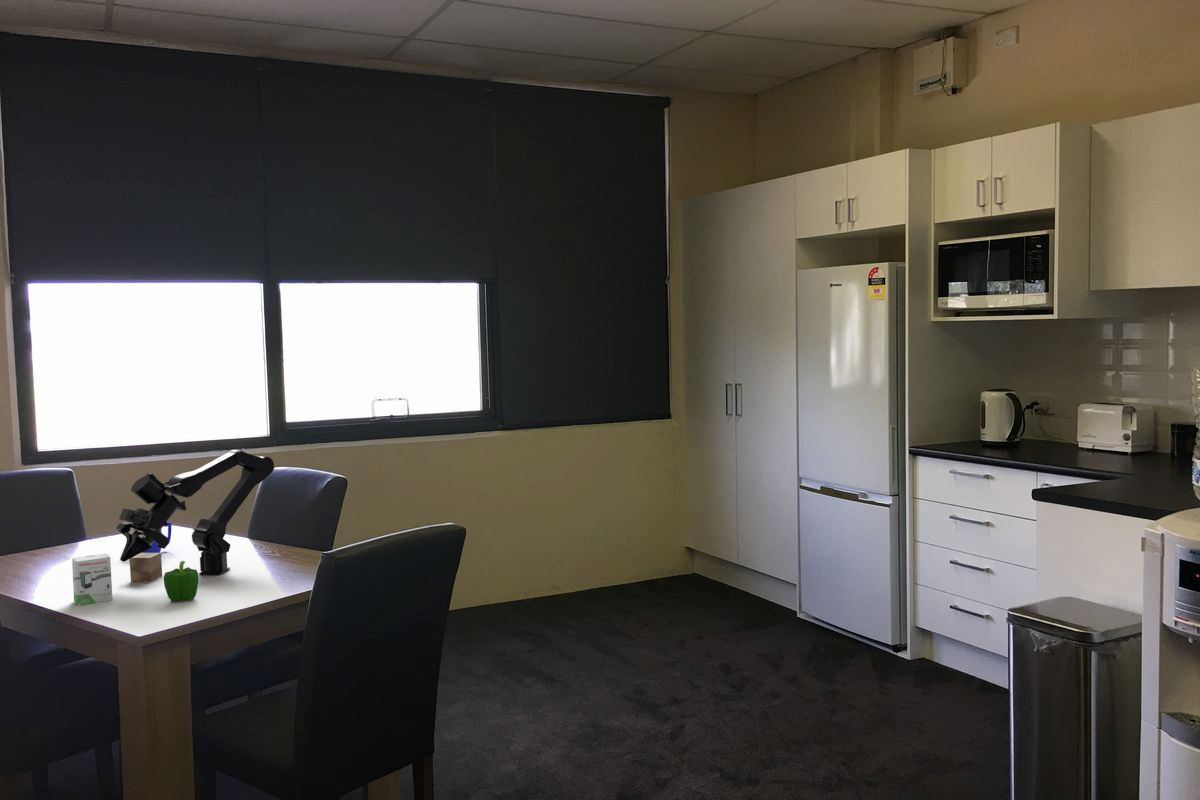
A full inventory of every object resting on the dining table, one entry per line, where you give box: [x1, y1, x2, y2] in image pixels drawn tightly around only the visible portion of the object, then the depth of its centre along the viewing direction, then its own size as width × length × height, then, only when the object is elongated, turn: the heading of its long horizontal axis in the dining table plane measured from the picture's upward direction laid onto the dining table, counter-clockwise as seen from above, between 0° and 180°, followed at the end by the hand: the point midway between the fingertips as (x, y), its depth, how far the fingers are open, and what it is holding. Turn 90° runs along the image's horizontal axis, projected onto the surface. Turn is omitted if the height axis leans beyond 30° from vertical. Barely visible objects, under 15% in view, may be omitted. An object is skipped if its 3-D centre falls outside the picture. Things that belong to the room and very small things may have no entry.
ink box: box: [71, 553, 113, 606], centre depth 254 cm, size 9×5×12 cm, turn 126°
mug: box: [142, 521, 172, 553], centre depth 307 cm, size 8×12×10 cm
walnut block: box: [129, 552, 163, 583], centre depth 276 cm, size 6×6×7 cm
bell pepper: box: [163, 560, 199, 603], centre depth 254 cm, size 8×8×10 cm
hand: (121, 560), depth 260 cm, fingers closed
